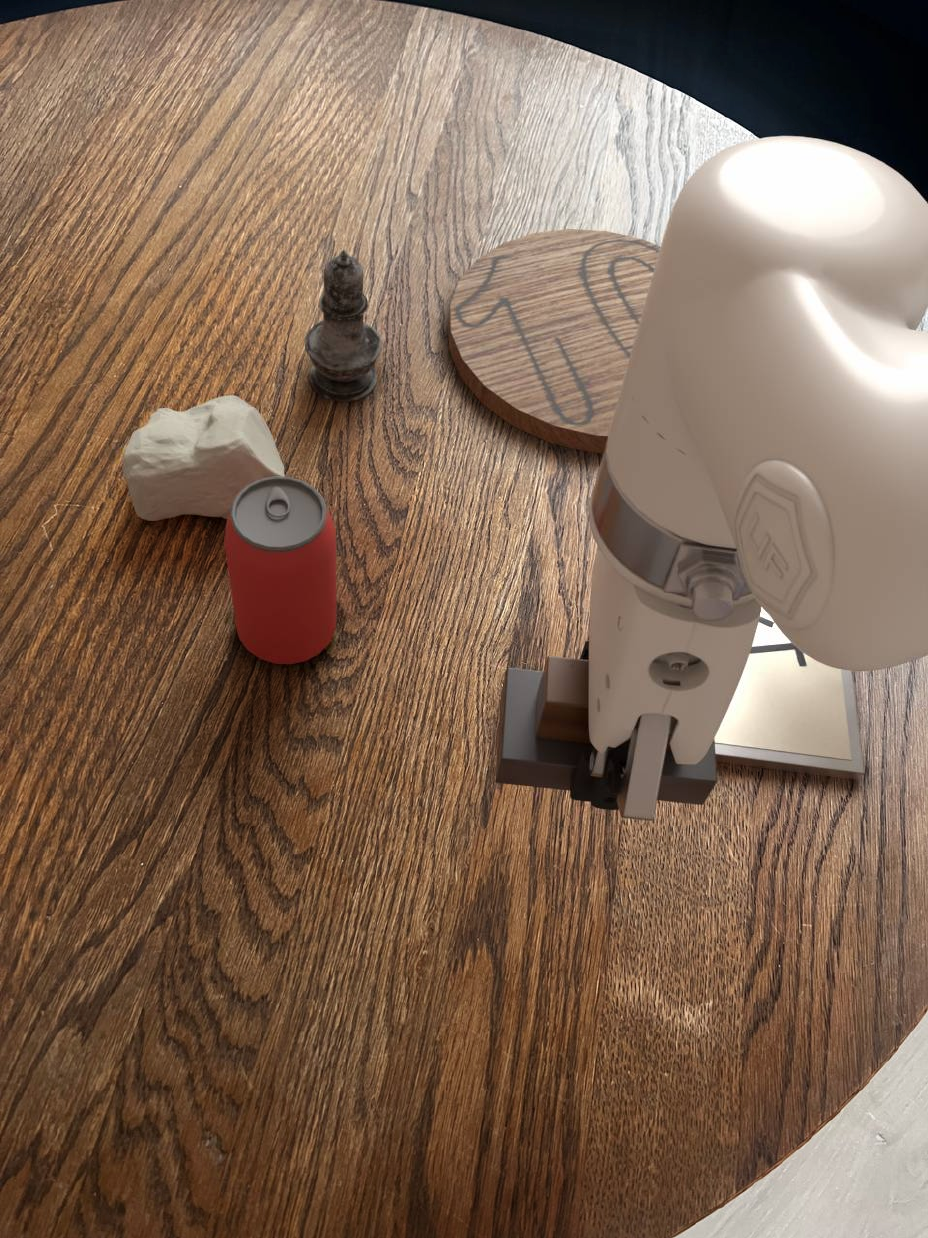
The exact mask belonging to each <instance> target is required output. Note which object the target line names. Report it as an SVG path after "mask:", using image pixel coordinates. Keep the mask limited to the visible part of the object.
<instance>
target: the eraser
mask: <svg viewBox="0 0 928 1238" xmlns="http://www.w3.org/2000/svg"><path fill="white" fill-rule="evenodd" d="M544 663H545V664H544V667H543V670H535V669H525V668H516V667H506V670H505V674H504V680H503V683H502V688H501V692H500V703H499V704H500V705H499V718H498V719H499V720H498V734H497V735H498V736H497V749H496V750H497V751H496V765H495V767H496V768H495V781H494V782H495V784H496V783H497V784H503V785H504V784H505V785H513V786H523V787H532V788H541V789H550V790H557V791H558V790H559V791H569V792H570V786H571V783H572V780H573V778H574V775H575V772H576V770H577V767H578V764H579V762H580V759H581V756H582V754H583V751H584V750H586V749H588V748H592V747H593V745H592V743H591V741H590V736H589V660H582V659H580V658H575V657H574V658H573V657H565V656H554V655H548V656H547V657H546V659H545V662H544ZM671 734H672V733H669V736H668V742H667V747H666V753H665V758H664V764H663V770H662V775H661V781H660V786H659V792H658V797H657V801H660V802H668V803H669V802H671V803H680V804H690V805H700V806H704V805H705V804H706V801H707V800H708V798H709V796H710V795H711V793H712V791H713V790H714V789H715V786H716V785H717V784H718V774H717V773H718V772H717V762H716V754H715V738H714V740H713V742H712V744H711V746H710V748H709V750H708V752H707V753H706V755H705V756H704V757H703V759H702V760H701V761H699V762H698V763H697V764H695V765H689V764H676V762H675V759H674V756H673V753H672V750H671V747H670V743H669V738H670V736H671ZM629 746H630V741H625V742H624V743H622V744H620V745H619V746H617V747H619V748H628V749H629Z"/></svg>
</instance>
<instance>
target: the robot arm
mask: <svg viewBox="0 0 928 1238" xmlns="http://www.w3.org/2000/svg"><path fill="white" fill-rule="evenodd" d="M660 246H661V247H660V251H659V255H658V258H657V262H656V265H655V269H654V272H653V276H652V280H651V283H650V287H649V290H648V294H647V298H646V301H645V305H644V308H643V312H642V316H641V319H640V323H639V326H638V330H637V333H636V337H635V341H634V344H633V348H632V351H631V355H630V359H629V362H628V366H627V369H626V373H625V377H624V380H623V384H622V387H621V391H620V394H619V398H618V402H617V405H616V409H615V412H614V416H613V420H612V423H611V427H610V430H609V435H608V439H607V442H606V446H605V449H604V453H602V456H601V461H600V464H599V468H598V471H597V474H596V478H595V481H594V485H593V488H592V492H591V496H590V500H589V505H588V521H589V522H588V523H589V526H590V530H591V534H592V538H593V539H594V541H595V543H596V545H597V546H596V551H595V556H594V560H593V565H592V571H591V584H590V597H589V598H590V599H589V629H588V631H589V632H588V640H585V641H584V645H583V647H582V650H581V654H580V657H579V659H582V660H589V736H590V741H591V743H592V745H593V747H592V748H588V749H586V750H584V751H583V754H582V756H581V759H580V762H579V764H578V767H577V770H576V772H575V775H574V778H573V780H572V783H571V786H570V791H569V798H570V799H571V800H574V801H577V802H578V801H580V802H587V803H588V802H589V803H590V805H591V806H592V807H593V808H596V809H599V810H606V811H619V814H620V817H621V819H627V820H628V819H631V820H639V821H649V822H652V821H653V820H654V818H655V814H656V807H657V802H658V800H657V797H658V792H659V786H660V781H661V775H662V770H663V764H664V758H665V753H666V747H667V742H668V736H669V733H672V734H671V736H670V738H669V743H670V747H671V750H672V753H673V756H674V759H675V762H676V764H689V765H695V764H697V763H698V762H699V761H701V760H702V759H703V757H704V756H705V755H706V753H707V752H708V750H709V748H710V746H711V744H712V742H713V740H714V738H715V736H716V734H717V732H718V730H719V728H720V725H721V723H722V721H723V719H724V717H725V715H726V712H727V710H728V708H729V706H730V703H731V701H732V699H733V696H734V694H735V692H736V689H737V687H738V684H739V682H740V679H741V677H742V674H743V671H744V668H745V666H746V663H747V660H748V657H749V654H750V651H751V648H752V644H753V641H754V638H755V634H756V630H757V627H758V622H759V618H760V614H761V608H763V609H764V611H765V612H766V613H767V614H768V615H769V616H770V617H771V618H772V620H773V621H774V622H775V624H776V625H777V627H778V628H779V630H780V631H781V632H782V633H783V634H784V635H785V636H786V637H787V638H788V640H789V641H790V642H791V643H792V644H793V645H794V646H796V647H797V648H798V649H799V650H800V651H802V652H803V653H805V654H806V655H808V656H809V657H811V658H812V659H814V660H816V661H818V662H820V663H822V664H824V665H827V666H830V667H833V668H837V669H842V670H849V671H852V672H873V671H879V670H881V671H882V670H885V669H890V668H894V667H898V666H901V665H904V664H908V663H910V662H911V663H912V662H915V661H917V660H919V659H922V658H924V657H926V656H928V331H925V330H918V327H919V325H920V324H921V322H922V320H923V318H924V316H925V314H926V312H927V310H928V201H926V199H925V198H924V197H923V196H922V195H921V193H920V192H919V191H918V190H917V189H916V188H915V186H913V184H912V183H911V182H910V181H909V180H907V179H906V178H905V177H904V176H903V175H902V174H900V173H899V172H898V171H897V170H895V169H894V168H892V167H891V166H889V165H887V164H886V163H885V162H883V161H881V160H879V159H877V158H876V157H873V156H871V155H870V154H867V153H866V152H863V151H860V150H858V149H855V148H852V147H850V146H846V145H844V144H841V143H838V142H834V141H830V140H826V139H820V138H814V137H807V136H798V135H797V136H796V135H795V136H794V135H778V136H767V137H761V138H757V139H752V140H747V141H743V142H739V143H737V144H734V145H731V146H729V147H725V149H723V150H721V151H720V152H718V153H716V154H715V155H713V156H711V157H710V158H709V159H707V160H706V161H704V162H703V163H702V164H701V165H700V166H699V167H698V168H697V169H696V170H695V172H693V173H692V174H691V175H690V177H689V178H688V179H687V181H686V182H685V183H684V185H683V187H682V188H681V190H680V192H679V194H678V195H677V198H676V200H675V202H674V204H673V206H672V208H671V211H670V214H669V216H668V220H667V223H666V226H665V230H664V233H663V237H662V240H661V243H660ZM625 741H630V746H629V749H628V748H619V747H617V746H619V745H620V744H622V743H624V742H625Z"/></svg>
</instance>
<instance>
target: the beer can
mask: <svg viewBox="0 0 928 1238" xmlns="http://www.w3.org/2000/svg"><path fill="white" fill-rule="evenodd" d="M223 542H224V549H225V550H224V551H225V556H226V564H227V571H228V577H229V578H228V579H229V586H230V593H231V602H232V608H233V615H234V623H235V628H236V631H237V636H238V639H239V641H240V642H241V643H242V645H243V646H244V647H245V649H246V650H247V651H248V652H249V653H251V654H252V655H254V656H255V657H256V658H258V659H260V660H262V661H265V662H268V663H270V664H271V663H272V664H275V665H294V664H298V663H303V662H307V661H308V660H310V659H312V658H314V657H316V656H318V655H319V654H320V653H322V652H323V650H325V648H326V647H327V646H329V644H331V641H332V639H333V637H334V635H335V633H336V631H337V530H336V527H335V525H334V521H333V518H332V516H331V513H330V511H329V509H328V506H327V504H326V501H325V499H324V497H323V495H322V494H321V493H320V492H319V491H318V489H316V487H314V486H312V485H311V484H309V482H306V481H304V480H302V479H298V478H295V477H293V476H285V477H281V476H273V477H268V478H263V479H259V480H257V481H255V482H253V483H251V484H249V485H247V486H246V487H245V488H244V489H242V490H241V491H240V492H239V493H238V494H237V496H236V497H235V499H234V501H233V503H232V504H231V512H230V515H229V517H228V519H226V524H225V531H224V539H223Z"/></svg>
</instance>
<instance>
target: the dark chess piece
mask: <svg viewBox="0 0 928 1238" xmlns="http://www.w3.org/2000/svg"><path fill="white" fill-rule="evenodd" d="M318 307H319V309H320V311H321V313H323V314H322V315H323V317H322V318H323V319H322V320H321V321H319V322H317V323H316V324H314V325H312V326H311V328H310V329H309V330H308V331H307V333H306V335H305V337H304V349H305V351H306V354H307V356H308V357H309V359H310V361H311V363H312V366H311V369H310V371H309V383H310V385H311V388H312V389H313V390H314V391H315V392H316V393H317V394H318V395H320V396H321V397H322V398H325V399H328V400H329V401H335V402H339V403H341V402H342V403H343V402H344V403H348V402H356V401H358V400H361V399H364V398H365V397H367V396H368V395H369V394H371V393H372V392H373V390H374V389H375V388H376V385H377V382H378V379H377V378H378V374H377V373H376V369H375V368H374V366H375V364H376V361H377V359H378V358H379V357H380V355H381V352H382V349H383V341H382V338H381V335H380V334H379V332H378V331H377V330H376V329H375V327H373V326H371V325H370V324H368V323H367V322H365V321H364V316H365V315H364V314H365V313H366V312H367V311H368V308H369V301H368V298H367V296H366V295H365V294H364V267H363V266H362V264H361V263H360V261H359V260H358V259H356V258H355V257H353V256H350V255H349V253H348V252H347V251H346V250H342V251H340V253H339V254H338V255H337V256H334V257H332V258H331V259H330V260H328V261H327V262H326V264H325V266H324V269H323V294H321V296H320V297H319V300H318Z"/></svg>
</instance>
